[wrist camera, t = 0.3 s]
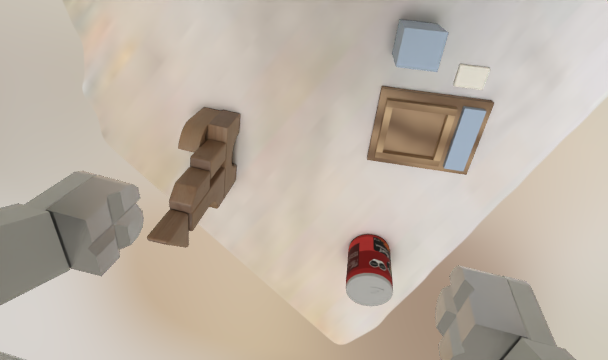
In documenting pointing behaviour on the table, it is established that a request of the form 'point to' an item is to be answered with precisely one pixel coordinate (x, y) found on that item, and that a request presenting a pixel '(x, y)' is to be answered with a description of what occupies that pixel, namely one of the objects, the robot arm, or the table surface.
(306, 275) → the table surface
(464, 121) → the plate
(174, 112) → the table surface
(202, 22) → the table surface
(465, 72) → the cream rectangular block
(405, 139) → the tray
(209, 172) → the wooden toy
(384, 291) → the canned food
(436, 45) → the block
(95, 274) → the robot arm
